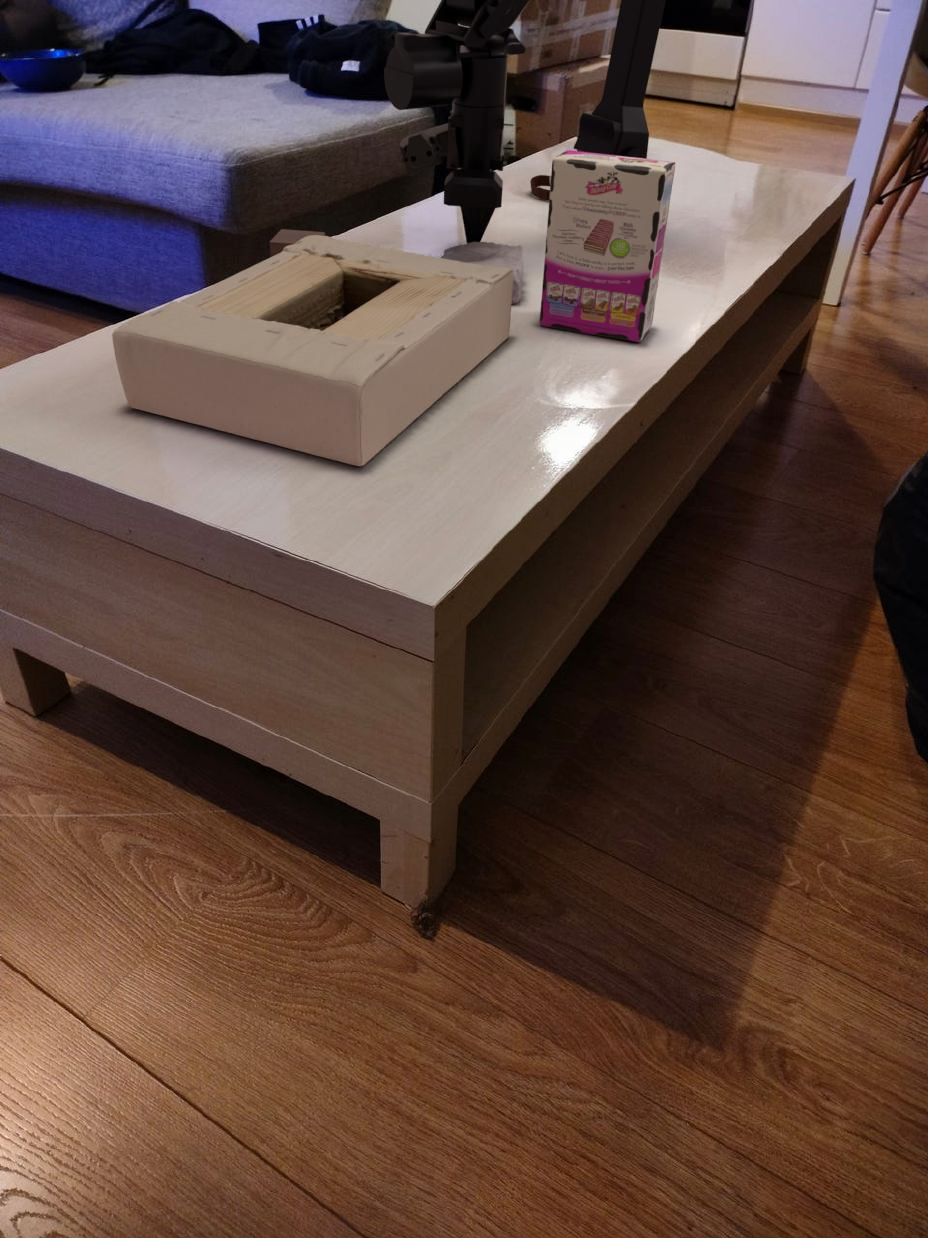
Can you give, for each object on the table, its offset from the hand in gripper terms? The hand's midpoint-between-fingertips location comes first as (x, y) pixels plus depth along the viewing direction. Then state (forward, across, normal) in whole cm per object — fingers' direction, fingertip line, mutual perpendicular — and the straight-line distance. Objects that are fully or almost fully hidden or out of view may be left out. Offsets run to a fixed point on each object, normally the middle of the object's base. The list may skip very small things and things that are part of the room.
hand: (472, 249), depth 114 cm
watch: (+3, -34, +11) cm, 36 cm away
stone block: (+2, +6, +1) cm, 7 cm away
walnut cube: (+2, +8, -19) cm, 21 cm away
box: (+2, +32, -12) cm, 34 cm away
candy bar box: (+2, +18, +14) cm, 22 cm away
